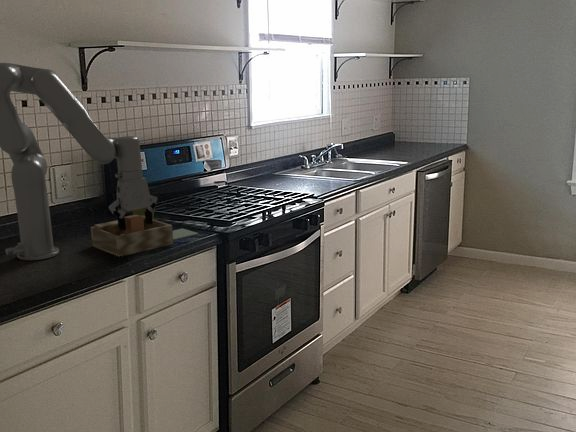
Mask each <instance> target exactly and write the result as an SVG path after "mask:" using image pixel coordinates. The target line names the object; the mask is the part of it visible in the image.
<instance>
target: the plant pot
mask: <svg viewBox="0 0 576 432" xmlns="http://www.w3.org/2000/svg"><path fill="white" fill-rule="evenodd" d="M155 209H156V206H155V207H154V209H153V212H152V219H154V218H155V217H154V216H155V215H154V214H155ZM145 211H146V210H145V209H141V210H136V211H131V212H132V215H139V216H142V215H143V216H145Z"/></svg>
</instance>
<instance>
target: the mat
mask: <svg viewBox="0 0 576 432" xmlns="http://www.w3.org/2000/svg"><path fill="white" fill-rule="evenodd" d="M172 231H173V241H176V240H180V239H186V238H189V237H194V236H198V235H200V234H199V232H195V231H192V230H189V229H185V228H179V229H175V230H172Z"/></svg>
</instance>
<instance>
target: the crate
mask: <svg viewBox="0 0 576 432" xmlns="http://www.w3.org/2000/svg"><path fill="white" fill-rule="evenodd" d="M142 216H143V215H142ZM143 220H144V230H143V231H138V232H134V233H129V234H125V230H121V229H120V228H119V226H118V219H116V220H113V221H108V222H103V223H97V224H94V226H90V234H91V235H90V236H91V243H92V247H94V248H96V249H98V250H101V251H102V252H106V253H109V254H111V255H113V254H114V256H115V255H116V257H118V256H119V257H118V258H120V256H121V257H125V256H129V255H133V254H138V253H141V252H145V251H150V250H153V249H158V248H163V247H167V246H171V245H174V240H173V231H174V230H173V225H172V224H170V223H166V222H164V221H160V220H157V219H154V218H153V219H152V224H148V223H146V222H145V216H143ZM137 252H138V253H137ZM124 255H125V256H124Z"/></svg>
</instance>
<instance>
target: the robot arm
mask: <svg viewBox="0 0 576 432" xmlns="http://www.w3.org/2000/svg"><path fill="white" fill-rule="evenodd" d="M11 92H15V93H22V94H26V95H27V94H28V95H34V96H37V98H38V99H39V100H40V101H41V102H42V103H43V105H45V106H46V107H47V109H48V110H49V111H50V112H51V113H52V114H53V115H54V117H56V119H57V120H58V121H59V122H60V123H61V125H62V126H63V127H64V129H66V131H68V132H69V134H70V135H71V136H72V137H73V138H74V140H75V141H76V143H78V145H80V147H81V148H82V149H83V150H84V151H85V153H86V154H87V155H88V156H89V157H90V158H91V159H92V160H93V161H94V162H96V163H97V164H99V165H100V164H101V165H107V164H110V163H112V161H113V160H114V159H116V162H117V173H115V174H114V176H115V178H116V179H118V180H117V182H116V183H117V185H116V200H114V201H113V202H112V203H111V204H109V205H108V210H109V211H110V212H111V214H112V215H114V217H116V219H117V220H118V226H119V228H120V229H121V230H126V224H125V218H124V217H125V214H126V213H129V212H132V211H136V210H141V209H145V210H146V211H145V222H146V223H148V224H152V212H153V209H154V207H155V208H156V205H157V202H158V197H157V196H154V195H152V194H150V189H149V188H150V187H149V185H148V182H147V179H146V178H147V177H144V176H143V175H144V174H143V165H142V155H141V143H140V139H139V138H138V137H137V136H131V135H130V136H129V135H128V136H120V137H108V136H106V135H104V133H103V132H102V131H101V130H100V129H99V127H98V126H97V125H96V123H94V121H93V120H92V118H91V117H90V114H89V113H88V111H87V110H86V108H85V107H84V105H83V104H82V103H81V102H80V100H79V99H77V98H78V97H76V96H75V95H74V94H73V93H72V92H71V90H70V89H69V88H68V87H67V86H66V84H65V83H64V82H63V81H62V79H61V77H60V76H59V74H58V73H57V72H56V71H54V70H52V69H49V68H40V67H32V66H28V65H21V64H16V63H11V62H0V149H1V150H2V151H4V153H6V154H8V156H9V158H10V159H11V162H12V165H13V166H12V168H11V173H10V175H11V176H10V177H11V183H12V188H13V193H14V199H15V206H16V207H15V208H16V213H17V222H18V230H19V239H20V242H17V245H15V246H14V247H8V248H5V254H6V255H7V256H8V255H16V258H17V259H18V258H19V260H22V261H38V260H40V261H41V260H46V259H50V258H53V257H56V256H57V255H58V254H60V248H59V247H56V246H54V239H53V230H52V229H53V228H52V222H51V221H52V220H51V213H50V205H49V196H48V188H47V182H46V175H47V172H48V164H47V160H46V158H45V156H44V154H43V152H42V149H41V147H40V146H39V143H38V140H37V139H36V137H35V134H34V133H33V130H32V129H31V128H30V126H28V125H27V124H26V123H24V122H23V121H22V120H21V118H20V116H19V114H18V111H17V110H16V106H15V105H14V103H13V101H12V99H11ZM116 208H117V209H118V210H116Z"/></svg>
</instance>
